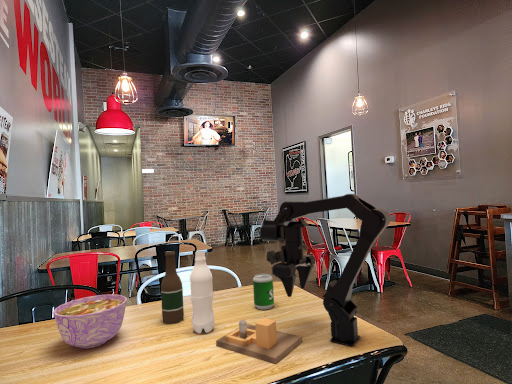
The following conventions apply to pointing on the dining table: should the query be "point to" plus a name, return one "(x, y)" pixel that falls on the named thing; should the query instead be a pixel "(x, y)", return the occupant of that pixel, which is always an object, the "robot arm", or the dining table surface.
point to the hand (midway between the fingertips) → (296, 292)
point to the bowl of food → (90, 319)
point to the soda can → (263, 291)
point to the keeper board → (272, 355)
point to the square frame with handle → (257, 335)
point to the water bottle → (202, 295)
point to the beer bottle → (171, 292)
